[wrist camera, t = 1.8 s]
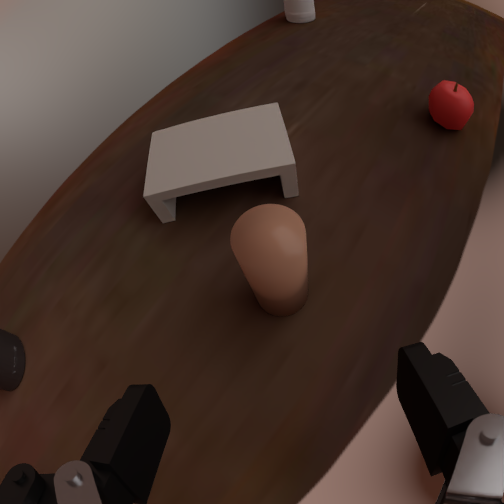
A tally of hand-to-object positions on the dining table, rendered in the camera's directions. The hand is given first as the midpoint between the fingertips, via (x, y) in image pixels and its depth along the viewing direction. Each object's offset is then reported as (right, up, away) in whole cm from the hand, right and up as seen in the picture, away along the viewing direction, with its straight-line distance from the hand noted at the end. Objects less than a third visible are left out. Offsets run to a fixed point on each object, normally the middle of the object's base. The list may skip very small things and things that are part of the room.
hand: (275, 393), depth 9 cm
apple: (+31, +26, +32) cm, 52 cm away
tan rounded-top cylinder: (+3, 0, +25) cm, 25 cm away
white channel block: (-4, +15, +34) cm, 37 cm away
